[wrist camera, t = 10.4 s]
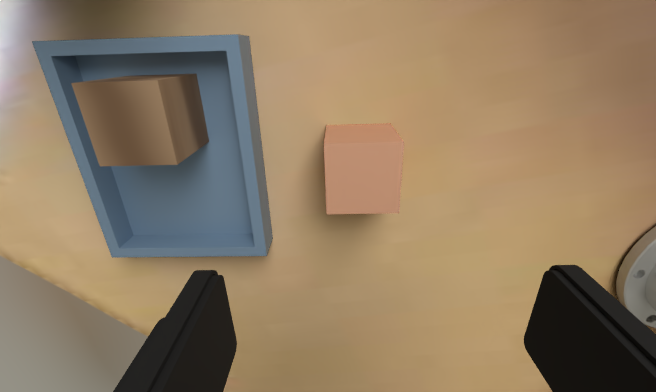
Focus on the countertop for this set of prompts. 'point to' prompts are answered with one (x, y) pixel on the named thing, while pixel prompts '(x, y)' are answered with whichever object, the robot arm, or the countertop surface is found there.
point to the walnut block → (143, 118)
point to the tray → (189, 175)
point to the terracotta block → (363, 168)
